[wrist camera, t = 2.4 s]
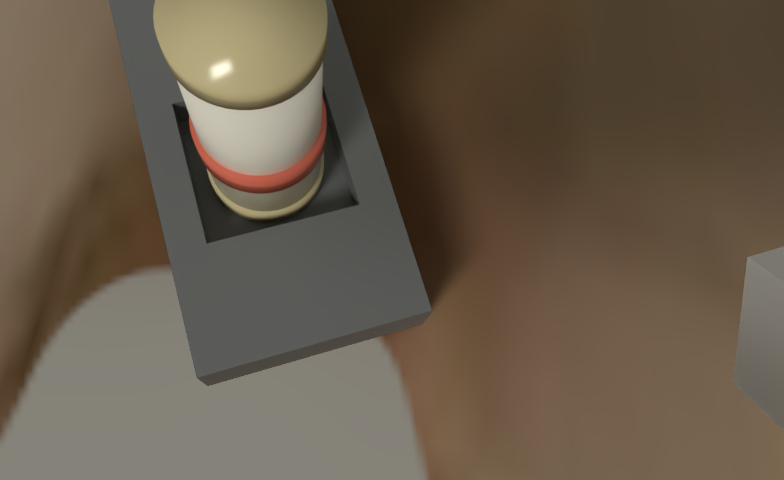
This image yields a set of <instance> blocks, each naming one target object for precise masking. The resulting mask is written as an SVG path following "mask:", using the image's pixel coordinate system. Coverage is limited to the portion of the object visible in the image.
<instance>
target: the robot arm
mask: <svg viewBox="0 0 784 480" xmlns="http://www.w3.org/2000/svg"><path fill="white" fill-rule="evenodd" d="M733 384H734V385H735V386H736V387H737V388H738V389H739V390H740V391H741V392H743V393H744V394H745V395H746V396H747V397H748V398H749V399H750V400H751V401H752V402H753V403H755V404H756V405H757V406H758V407H759V408H760V409H761V410H762V411H763V412H764V413H765V414H767V415H768V416H769V417H770V418H771V419H772V420H773V421H774V422H775V423H776V424H777V425H779V426H780V427H781V428H782V429H783V430H784V247H780V248H777V249H773V250H770V251H767V252H763V253H760V254H756V255H753V256H750V257H747V266H746V274H745V283H744V292H743V300H742V309H741V318H740V326H739V335H738V344H737V352H736V361H735V370H734V378H733Z"/></svg>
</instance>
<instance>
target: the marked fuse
mask: <svg viewBox="0 0 784 480" xmlns="http://www.w3.org/2000/svg"><path fill="white" fill-rule="evenodd" d="M153 21H154V29H155V32H156V36H157V39H158V42H159V45H160V47H161V50H162V53H163V55H164V58H165V60H166V63H167V65H168V67H169V69H170V71H171V72H172V74H173V76H174V77H175V78H176V79H177V82H178V85H179V88H180V90H181V93H182V96H183V99H184V101H185V104H186V107H187V110H188V113H189V125H190V131H191V135H192V138H193V141H194V143H195V146H196V149H197V151H198V154H199V156H200V158H201V160H202V162H203V164H204V165H205V167H206V168H207V172H208V176H209V179H210V182H211V184H212V187H213V189H214V192H215V194H216V196H217V197H218V199H219V200H220V202H221V203H222V204H223V205H224V206H225V207H226V208H227V209H228V210H229V211H231V212H232V213H234V214H235V215H237V216H239V217H241V218H243V219H246V220H248V221H252V222H257V223H275V222H280V221H284V220H287V219H290V218H292V217H294V216H296V215H298V214H300V213H301V212H302V211H304V210H305V209H306V208H307V207H308V206H309V205H310V204H311V203H312V202H313V200H314V199H315V198H316V196H317V194H318V193H319V190H320V188H321V185H322V181H323V175H324V153H323V151H324V147H325V142H326V126H327V115H326V107H325V103H324V100H323V97H322V83H323V60H324V56H325V52H326V46H327V21H328V19H327V6H326V1H325V0H155V4H154V11H153Z"/></svg>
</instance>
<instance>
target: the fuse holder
mask: <svg viewBox="0 0 784 480" xmlns="http://www.w3.org/2000/svg"><path fill="white" fill-rule="evenodd" d="M325 1H326V6H327V19H328V21H327V46H326V52H325V56H324V60H323V83H322V97H323V100H324V103H325V107H326V115H327V126H326V142H325V147H324V151H323V153H324V175H323V181H322V185H321V188H320V190H319V193H318V194H317V196H316V198H315V199H314V200H313V202H312V203H311V204H310V205H309V206H308V207H307V208H306V209H305V210H304V211H302V212H301V213H300V214H298V215H296V216H294V217H292V218H290V219H287V220H284V221H280V222H275V223H257V222H252V221H248V220H246V219H243V218H241V217H239V216H237V215H235V214H234V213H232V212H231V211H229V210H228V209H227V208H226V207H225V206H224V205H223V204H222V203H221V202H220V200H219V199H218V197H217V196H216V194H215V192H214V189H213V187H212V184H211V182H210V179H209V176H208V172H207V168H206V167H205V165H204V164H203V162H202V160H201V158H200V156H199V154H198V151H197V149H196V146H195V143H194V141H193V138H192V135H191V131H190V125H189V113H188V110H187V107H186V104H185V101H184V99H183V96H182V93H181V90H180V88H179V85H178V82H177V79H176V78H175V77H174V76H173V74H172V72H171V71H170V69H169V67H168V65H167V63H166V60H165V58H164V55H163V53H162V50H161V47H160V45H159V42H158V39H157V36H156V32H155V29H154V21H153V11H154V4H155V0H109V2H110V6H111V11H112V15H113V19H114V23H115V28H116V32H117V36H118V41H119V45H120V49H121V54H122V58H123V62H124V67H125V71H126V75H127V79H128V84H129V88H130V92H131V97H132V101H133V105H134V110H135V114H136V118H137V122H138V127H139V131H140V135H141V140H142V144H143V148H144V153H145V157H146V161H147V165H148V170H149V174H150V178H151V183H152V187H153V191H154V196H155V200H156V204H157V209H158V213H159V217H160V221H161V226H162V230H163V234H164V239H165V243H166V247H167V252H168V256H169V260H170V264H171V269H172V273H173V277H174V282H175V286H176V290H177V295H178V299H179V303H180V307H181V311H182V316H183V320H184V325H185V329H186V333H187V338H188V342H189V346H190V351H191V355H192V359H193V363H194V368H195V372H196V376H197V378H198V379H199V380H200V381H202V382H203V383H205V384H206V385H207V386H209V385H213V384H216V383H220V382H223V381H227V380H230V379H233V378H237V377H240V376H244V375H247V374H251V373H254V372H258V371H261V370H265V369H268V368H272V367H275V366H278V365H282V364H285V363H289V362H292V361H296V360H299V359H303V358H306V357H310V356H313V355H317V354H320V353H324V352H327V351H331V350H334V349H337V348H341V347H344V346H348V345H351V344H355V343H358V342H362V341H365V340H369V339H372V338H376V337H379V336H382V335H386V334H389V333H393V332H396V331H400V330H403V329H407V328H410V327H414V326H417V325H421V324H423V322H424V321H425V319H426V318H427V317H428V315H429V314H430V313H431V311H432V309H431V306H430V302H429V299H428V296H427V293H426V290H425V287H424V284H423V281H422V278H421V275H420V271H419V268H418V265H417V262H416V259H415V256H414V253H413V250H412V247H411V244H410V240H409V237H408V234H407V231H406V228H405V225H404V222H403V219H402V216H401V213H400V209H399V206H398V203H397V200H396V197H395V194H394V191H393V188H392V185H391V182H390V178H389V175H388V172H387V169H386V166H385V163H384V160H383V157H382V154H381V151H380V147H379V144H378V141H377V138H376V135H375V132H374V129H373V126H372V123H371V120H370V117H369V113H368V110H367V107H366V104H365V101H364V98H363V95H362V92H361V89H360V86H359V82H358V79H357V76H356V73H355V70H354V67H353V64H352V61H351V58H350V55H349V51H348V48H347V45H346V42H345V39H344V36H343V33H342V30H341V27H340V24H339V20H338V17H337V14H336V11H335V8H334V5H333V2H332V0H325Z"/></svg>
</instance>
